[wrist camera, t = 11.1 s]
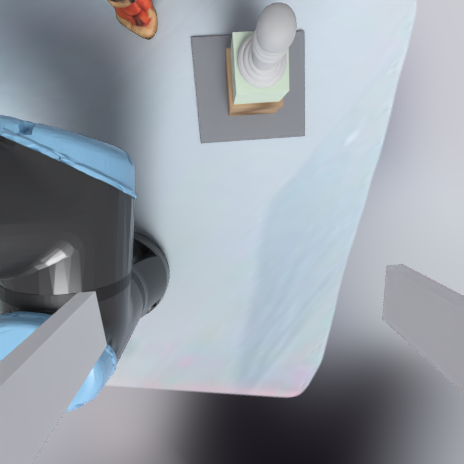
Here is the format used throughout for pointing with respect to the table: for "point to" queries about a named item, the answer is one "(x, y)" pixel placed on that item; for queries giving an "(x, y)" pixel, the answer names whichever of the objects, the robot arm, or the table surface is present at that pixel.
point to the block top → (247, 92)
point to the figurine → (137, 16)
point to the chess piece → (268, 46)
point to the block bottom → (245, 108)
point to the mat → (216, 102)
